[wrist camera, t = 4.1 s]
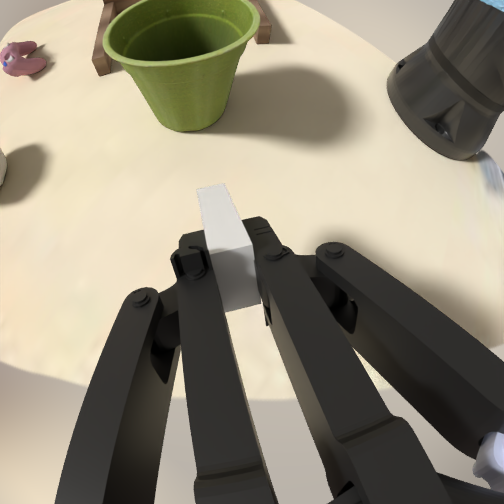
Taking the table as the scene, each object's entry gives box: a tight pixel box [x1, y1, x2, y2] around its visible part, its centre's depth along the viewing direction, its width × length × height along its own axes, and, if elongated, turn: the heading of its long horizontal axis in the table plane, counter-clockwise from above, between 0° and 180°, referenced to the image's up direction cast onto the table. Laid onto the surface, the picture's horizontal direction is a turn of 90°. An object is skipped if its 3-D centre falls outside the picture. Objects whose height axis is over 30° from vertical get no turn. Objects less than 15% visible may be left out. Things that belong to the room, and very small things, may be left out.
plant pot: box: [103, 0, 260, 132], centre depth 22 cm, size 12×12×11 cm
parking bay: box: [92, 0, 271, 76], centre depth 28 cm, size 17×21×5 cm
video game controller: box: [0, 41, 46, 77], centre depth 26 cm, size 10×5×7 cm, turn 40°
